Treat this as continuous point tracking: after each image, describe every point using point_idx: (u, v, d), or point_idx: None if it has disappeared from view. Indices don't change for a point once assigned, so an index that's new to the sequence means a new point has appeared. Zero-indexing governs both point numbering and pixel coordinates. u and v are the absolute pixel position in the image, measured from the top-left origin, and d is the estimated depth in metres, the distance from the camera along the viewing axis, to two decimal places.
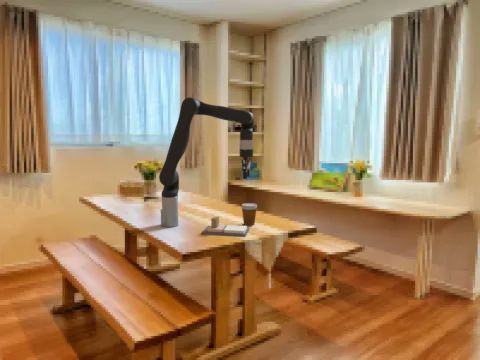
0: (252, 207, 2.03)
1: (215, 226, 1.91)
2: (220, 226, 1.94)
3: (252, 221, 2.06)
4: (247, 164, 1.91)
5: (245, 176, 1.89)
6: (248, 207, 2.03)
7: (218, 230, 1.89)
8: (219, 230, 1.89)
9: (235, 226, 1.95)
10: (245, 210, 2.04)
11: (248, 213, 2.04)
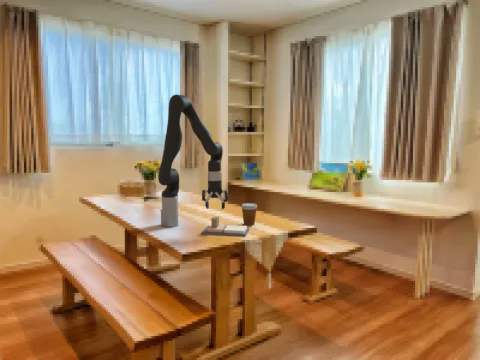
0: (252, 207, 2.03)
1: (215, 226, 1.91)
2: (220, 226, 1.94)
3: (252, 221, 2.06)
4: (219, 194, 1.92)
5: (224, 206, 1.92)
6: (248, 207, 2.03)
7: (218, 230, 1.89)
8: (219, 230, 1.89)
9: (235, 226, 1.95)
10: (245, 210, 2.04)
11: (248, 213, 2.04)
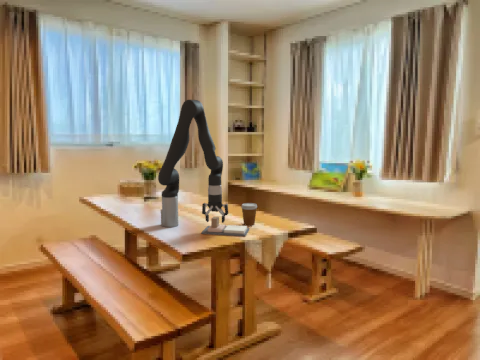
0: (252, 207, 2.03)
1: (215, 226, 1.91)
2: (220, 226, 1.94)
3: (252, 221, 2.06)
4: None
5: (224, 219, 1.93)
6: (248, 207, 2.03)
7: (218, 230, 1.89)
8: (219, 230, 1.89)
9: (235, 226, 1.95)
10: (245, 210, 2.04)
11: (248, 213, 2.04)
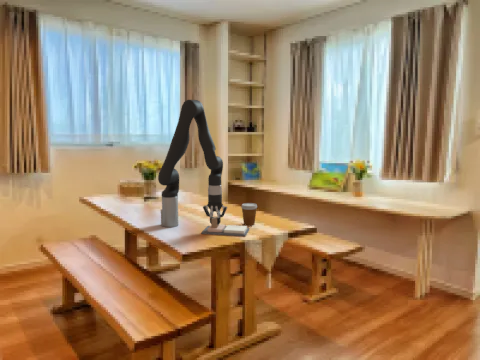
0: (252, 207, 2.03)
1: (215, 226, 1.91)
2: (220, 226, 1.94)
3: (252, 221, 2.06)
4: None
5: (220, 221, 1.94)
6: (248, 207, 2.03)
7: (218, 230, 1.89)
8: (219, 230, 1.89)
9: (235, 226, 1.95)
10: (245, 210, 2.04)
11: (248, 213, 2.04)
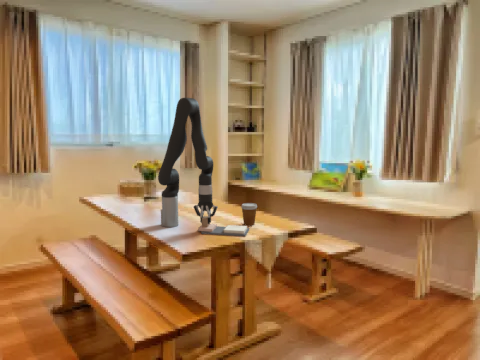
0: (252, 207, 2.03)
1: (205, 225, 1.92)
2: (211, 225, 1.95)
3: (252, 221, 2.06)
4: None
5: None
6: (248, 207, 2.03)
7: (208, 229, 1.90)
8: (209, 229, 1.90)
9: (235, 226, 1.95)
10: (245, 210, 2.04)
11: (248, 213, 2.04)
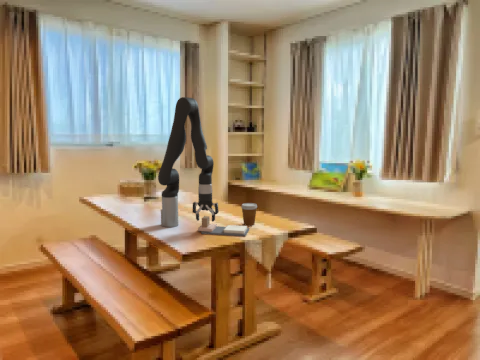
0: (252, 207, 2.03)
1: (205, 225, 1.92)
2: (210, 225, 1.95)
3: (252, 221, 2.06)
4: None
5: None
6: (248, 207, 2.03)
7: (208, 229, 1.90)
8: (209, 229, 1.90)
9: (235, 226, 1.95)
10: (245, 210, 2.04)
11: (248, 213, 2.04)
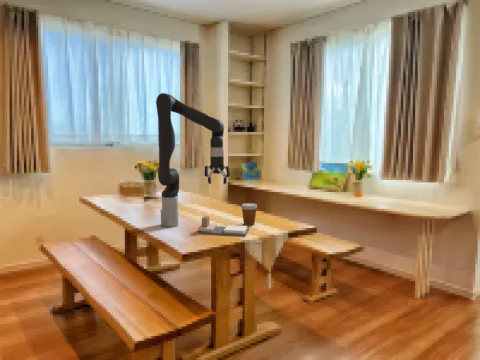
0: (252, 207, 2.03)
1: (205, 225, 1.92)
2: (210, 225, 1.95)
3: (252, 221, 2.06)
4: None
5: (226, 181, 1.98)
6: (248, 207, 2.03)
7: (208, 229, 1.90)
8: (209, 229, 1.90)
9: (235, 226, 1.95)
10: (245, 210, 2.04)
11: (248, 213, 2.04)
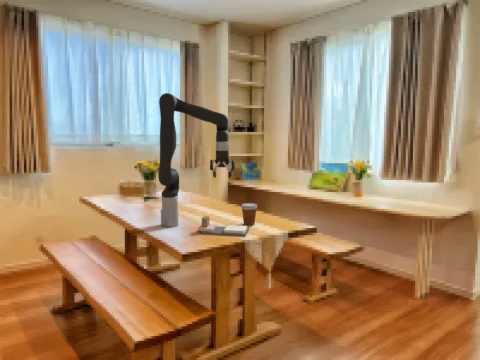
0: (252, 207, 2.03)
1: (205, 225, 1.92)
2: (210, 225, 1.95)
3: (252, 221, 2.06)
4: None
5: (231, 175, 2.02)
6: (248, 207, 2.03)
7: (208, 229, 1.90)
8: (209, 229, 1.90)
9: (235, 226, 1.95)
10: (245, 210, 2.04)
11: (248, 213, 2.04)
